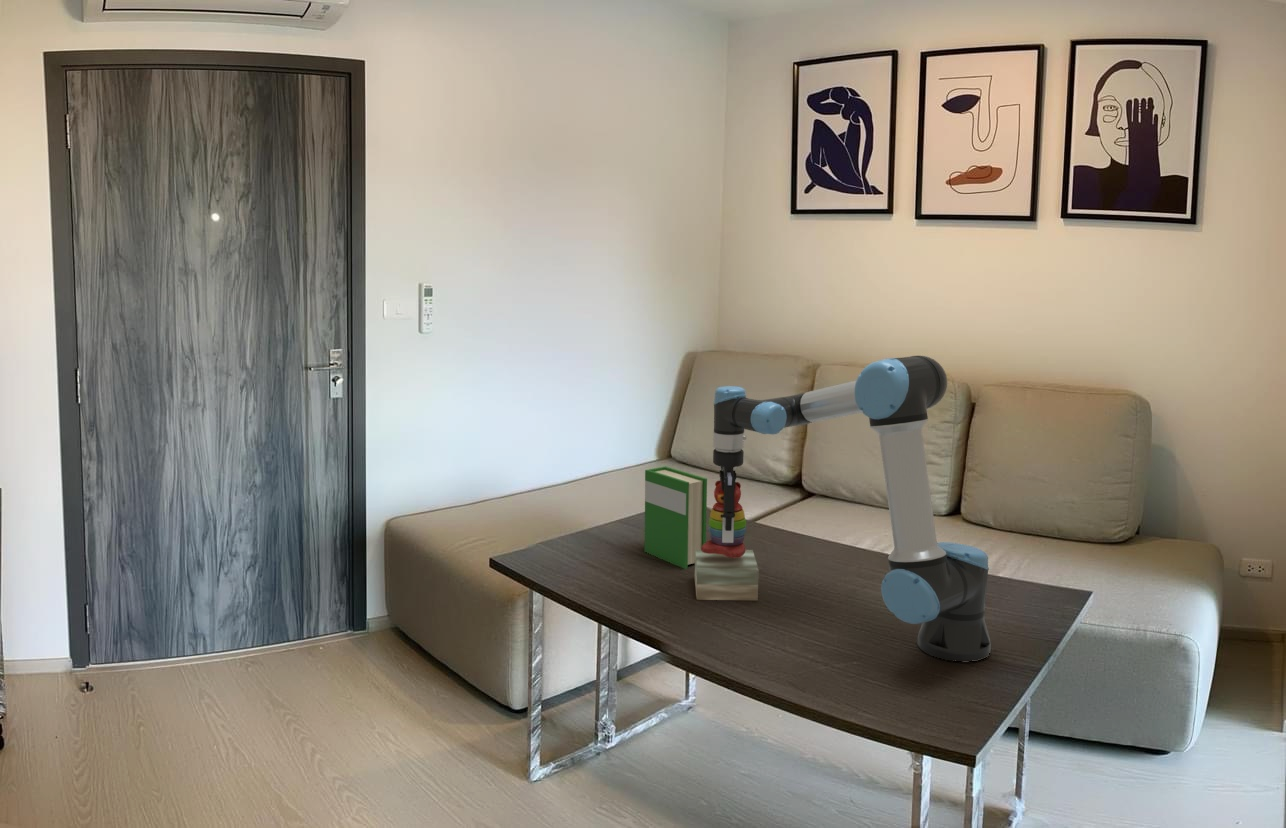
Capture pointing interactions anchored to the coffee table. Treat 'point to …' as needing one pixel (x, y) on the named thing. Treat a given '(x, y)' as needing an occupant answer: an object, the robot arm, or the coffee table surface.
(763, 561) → the coffee table surface
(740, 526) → the stacking bear
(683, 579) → the coffee table surface
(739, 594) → the tower base
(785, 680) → the coffee table surface
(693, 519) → the hardback book
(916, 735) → the coffee table surface
